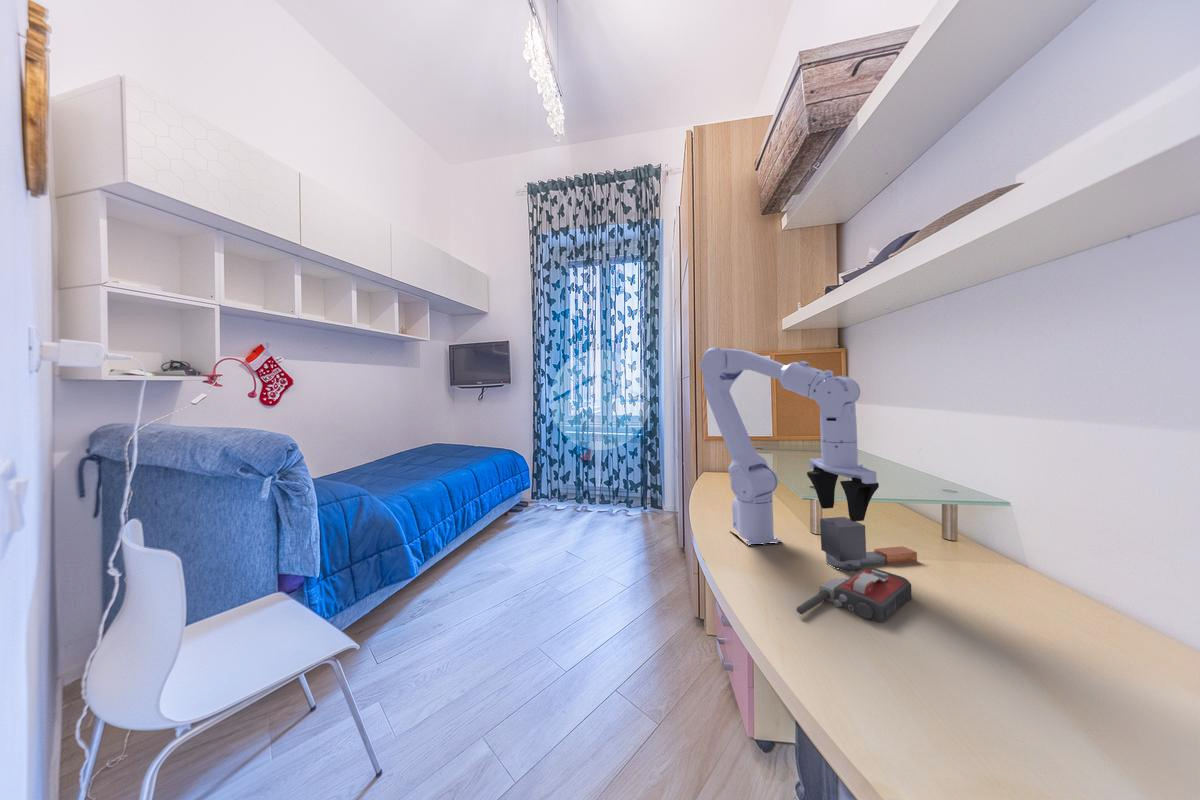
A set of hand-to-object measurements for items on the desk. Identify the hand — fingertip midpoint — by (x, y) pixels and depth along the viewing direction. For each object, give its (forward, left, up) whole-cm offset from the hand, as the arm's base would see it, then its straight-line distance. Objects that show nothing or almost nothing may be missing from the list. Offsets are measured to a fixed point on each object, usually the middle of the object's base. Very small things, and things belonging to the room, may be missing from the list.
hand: (841, 513), depth 70 cm
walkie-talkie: (+12, -8, -10) cm, 18 cm away
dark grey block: (0, 0, -7) cm, 7 cm away
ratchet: (0, +5, -9) cm, 11 cm away
